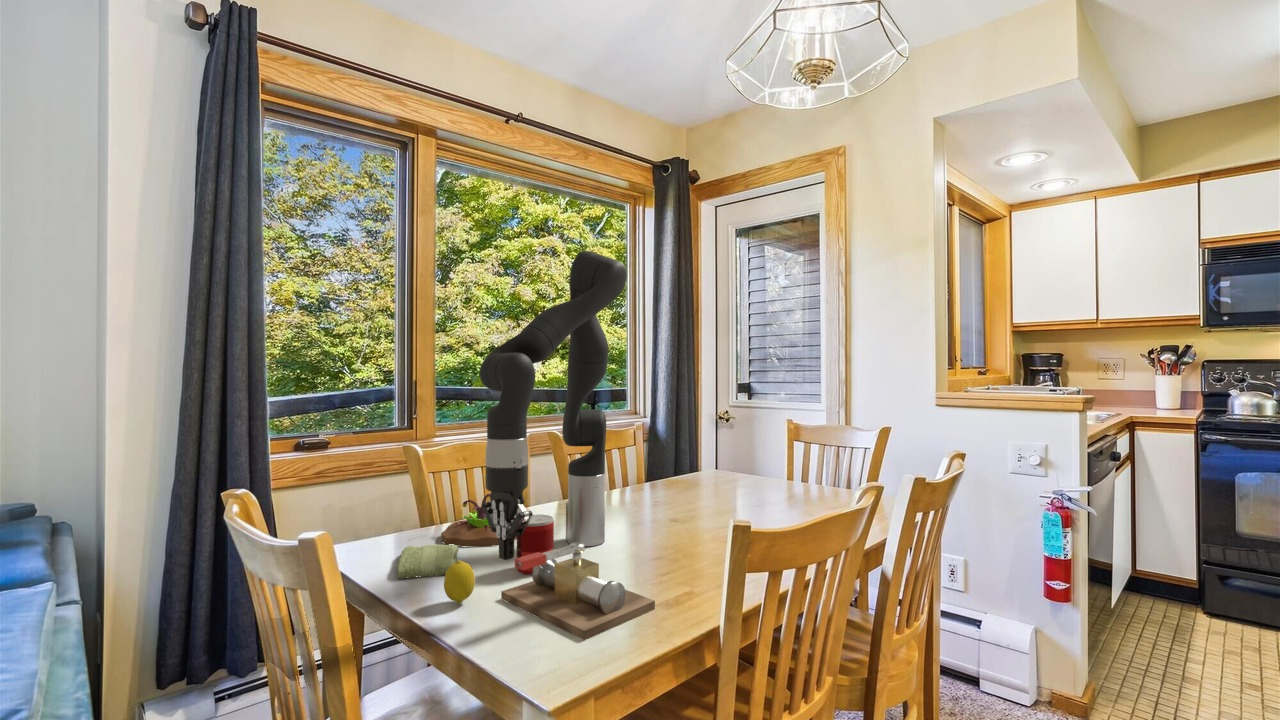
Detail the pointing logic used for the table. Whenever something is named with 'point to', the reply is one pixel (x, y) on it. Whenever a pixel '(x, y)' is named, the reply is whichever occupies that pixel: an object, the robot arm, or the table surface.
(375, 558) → the table surface
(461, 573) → the lemon
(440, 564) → the washcloth
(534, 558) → the valve lever
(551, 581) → the valve body
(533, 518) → the canned food
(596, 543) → the robot arm
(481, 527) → the plant
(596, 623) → the walnut board
